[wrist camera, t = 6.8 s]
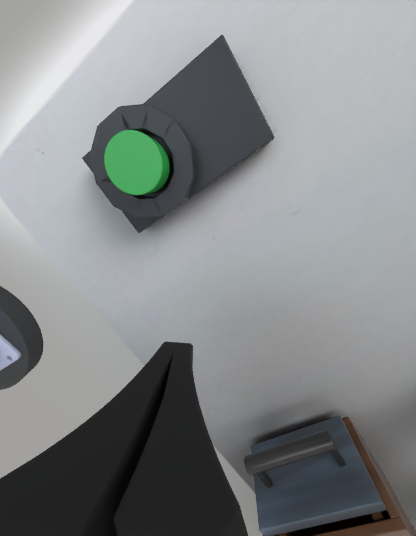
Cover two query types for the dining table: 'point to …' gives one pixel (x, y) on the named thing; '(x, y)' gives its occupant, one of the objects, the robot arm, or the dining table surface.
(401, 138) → the dining table surface
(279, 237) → the dining table surface
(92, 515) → the robot arm
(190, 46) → the dining table surface
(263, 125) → the control block
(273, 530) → the drawer
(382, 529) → the cabinet
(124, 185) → the button
